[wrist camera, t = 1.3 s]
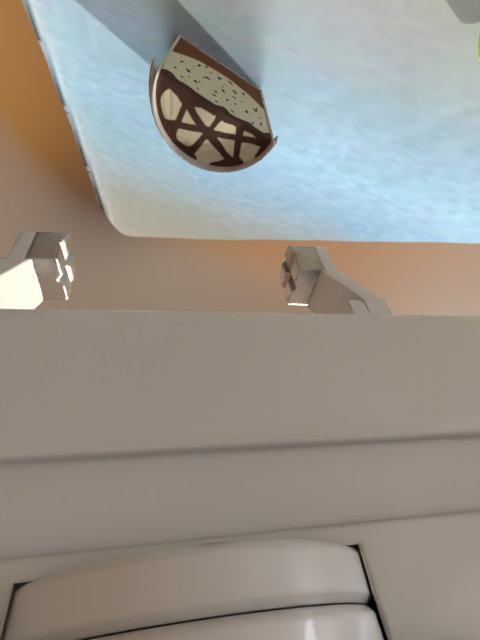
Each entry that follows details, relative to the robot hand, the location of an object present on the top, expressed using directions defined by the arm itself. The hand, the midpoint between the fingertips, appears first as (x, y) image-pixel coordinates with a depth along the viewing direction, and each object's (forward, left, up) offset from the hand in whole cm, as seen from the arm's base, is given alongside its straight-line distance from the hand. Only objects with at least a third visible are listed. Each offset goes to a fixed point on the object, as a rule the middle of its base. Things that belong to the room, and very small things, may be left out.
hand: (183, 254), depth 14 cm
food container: (+7, -1, -32) cm, 33 cm away
